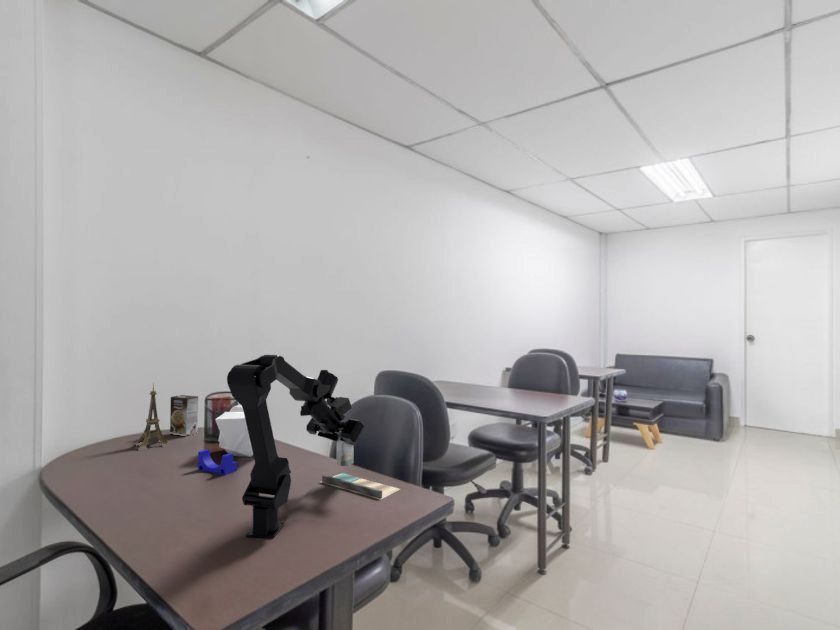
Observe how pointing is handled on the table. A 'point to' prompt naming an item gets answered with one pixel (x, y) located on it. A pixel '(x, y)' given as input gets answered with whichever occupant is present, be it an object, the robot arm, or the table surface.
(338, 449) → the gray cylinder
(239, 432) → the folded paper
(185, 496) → the table surface
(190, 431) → the coffee box
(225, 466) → the cable clip
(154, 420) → the eiffel tower
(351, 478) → the rail board
